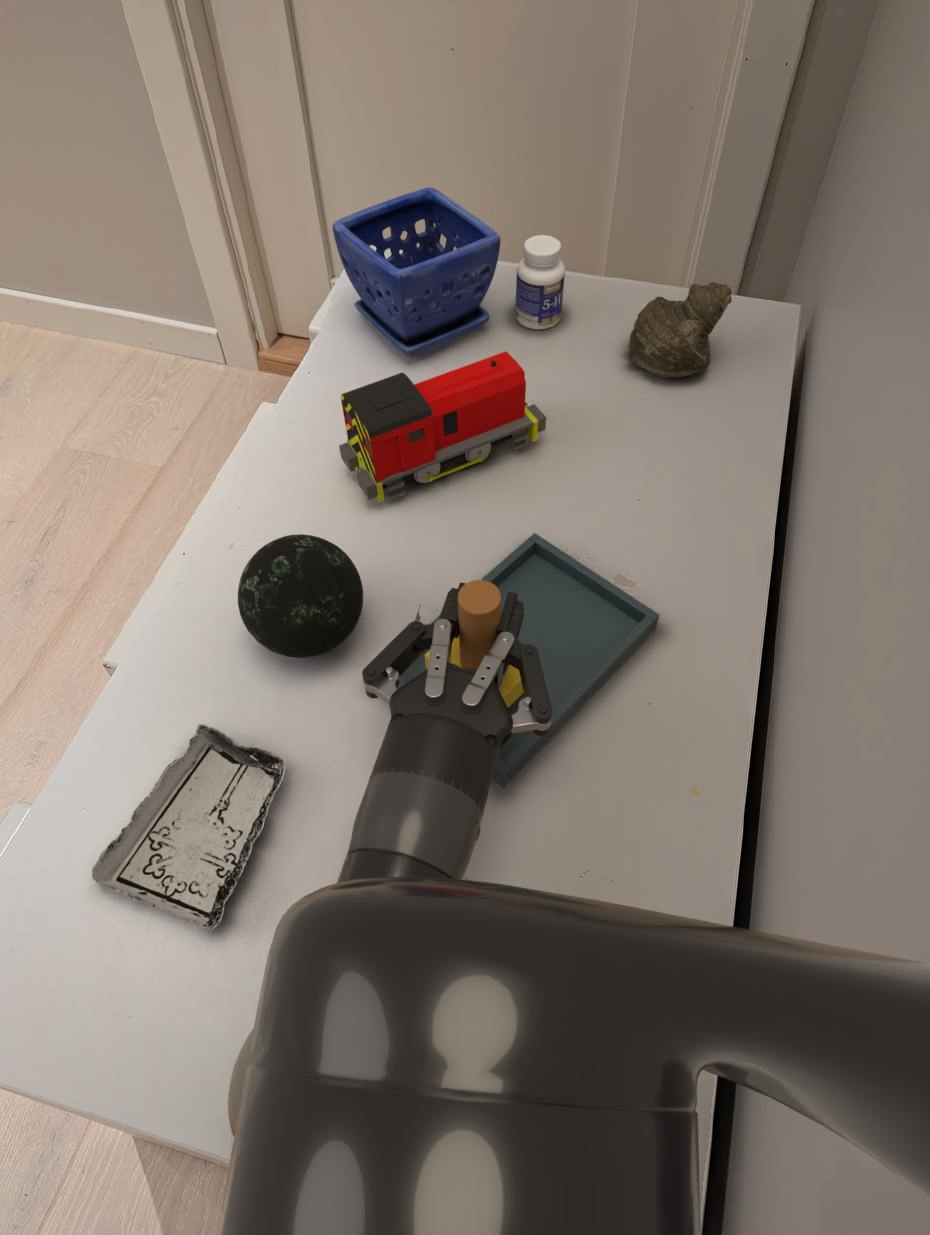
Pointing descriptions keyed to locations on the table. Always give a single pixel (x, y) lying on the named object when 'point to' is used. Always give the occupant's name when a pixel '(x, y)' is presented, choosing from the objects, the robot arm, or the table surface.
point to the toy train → (435, 423)
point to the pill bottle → (540, 283)
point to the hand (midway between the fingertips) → (488, 595)
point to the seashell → (678, 331)
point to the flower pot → (419, 268)
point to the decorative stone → (300, 596)
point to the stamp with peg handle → (481, 633)
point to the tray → (562, 636)
